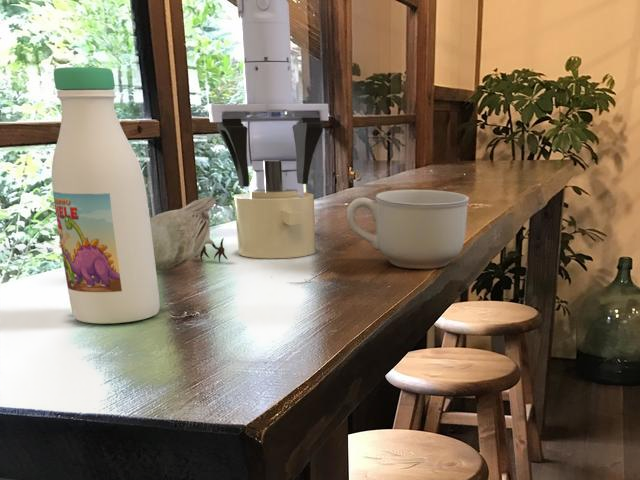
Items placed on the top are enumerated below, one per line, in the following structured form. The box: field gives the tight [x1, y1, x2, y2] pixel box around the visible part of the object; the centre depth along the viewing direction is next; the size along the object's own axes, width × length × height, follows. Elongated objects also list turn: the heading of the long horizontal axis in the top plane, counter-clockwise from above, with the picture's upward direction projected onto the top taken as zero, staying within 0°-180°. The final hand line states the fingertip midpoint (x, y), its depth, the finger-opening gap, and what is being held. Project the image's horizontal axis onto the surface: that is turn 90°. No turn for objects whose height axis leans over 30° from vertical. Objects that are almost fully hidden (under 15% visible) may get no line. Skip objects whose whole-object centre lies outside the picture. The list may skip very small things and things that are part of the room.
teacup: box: [346, 189, 470, 270], centre depth 94 cm, size 14×11×8 cm
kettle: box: [234, 160, 317, 260], centre depth 103 cm, size 16×10×11 cm, turn 23°
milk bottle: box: [51, 66, 161, 324], centre depth 69 cm, size 8×8×20 cm
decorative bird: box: [150, 196, 228, 272], centre depth 91 cm, size 5×16×8 cm, turn 152°
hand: (273, 184), depth 101 cm, fingers open, 7 cm apart
